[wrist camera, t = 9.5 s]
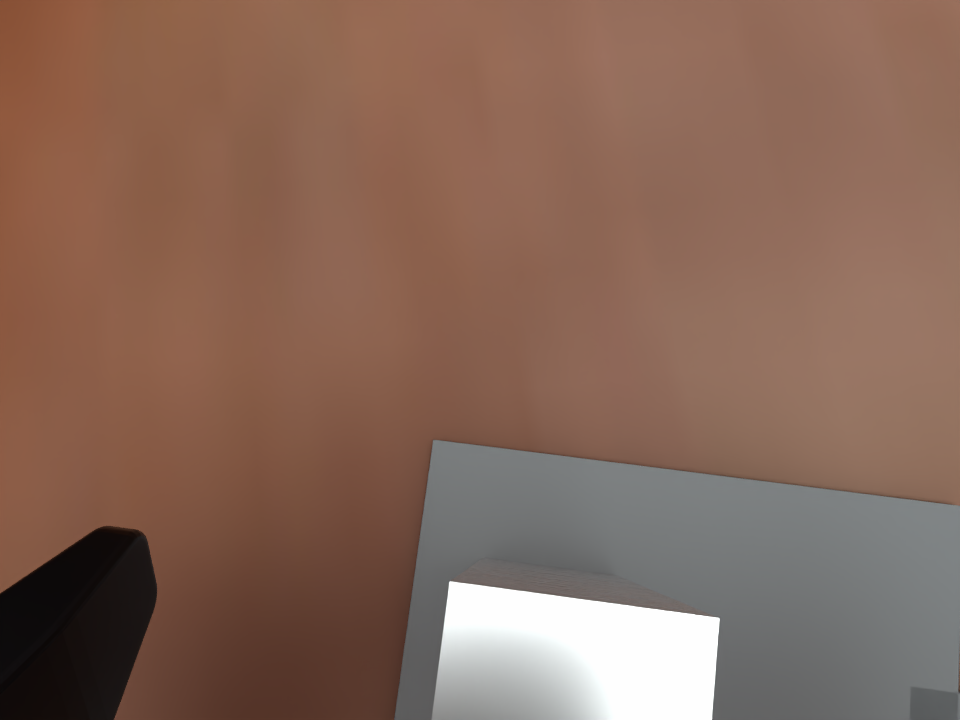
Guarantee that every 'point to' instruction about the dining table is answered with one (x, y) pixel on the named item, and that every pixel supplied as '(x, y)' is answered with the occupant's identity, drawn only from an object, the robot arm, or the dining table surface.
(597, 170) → the dining table surface
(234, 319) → the dining table surface
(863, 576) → the pull board
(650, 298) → the dining table surface
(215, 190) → the dining table surface
